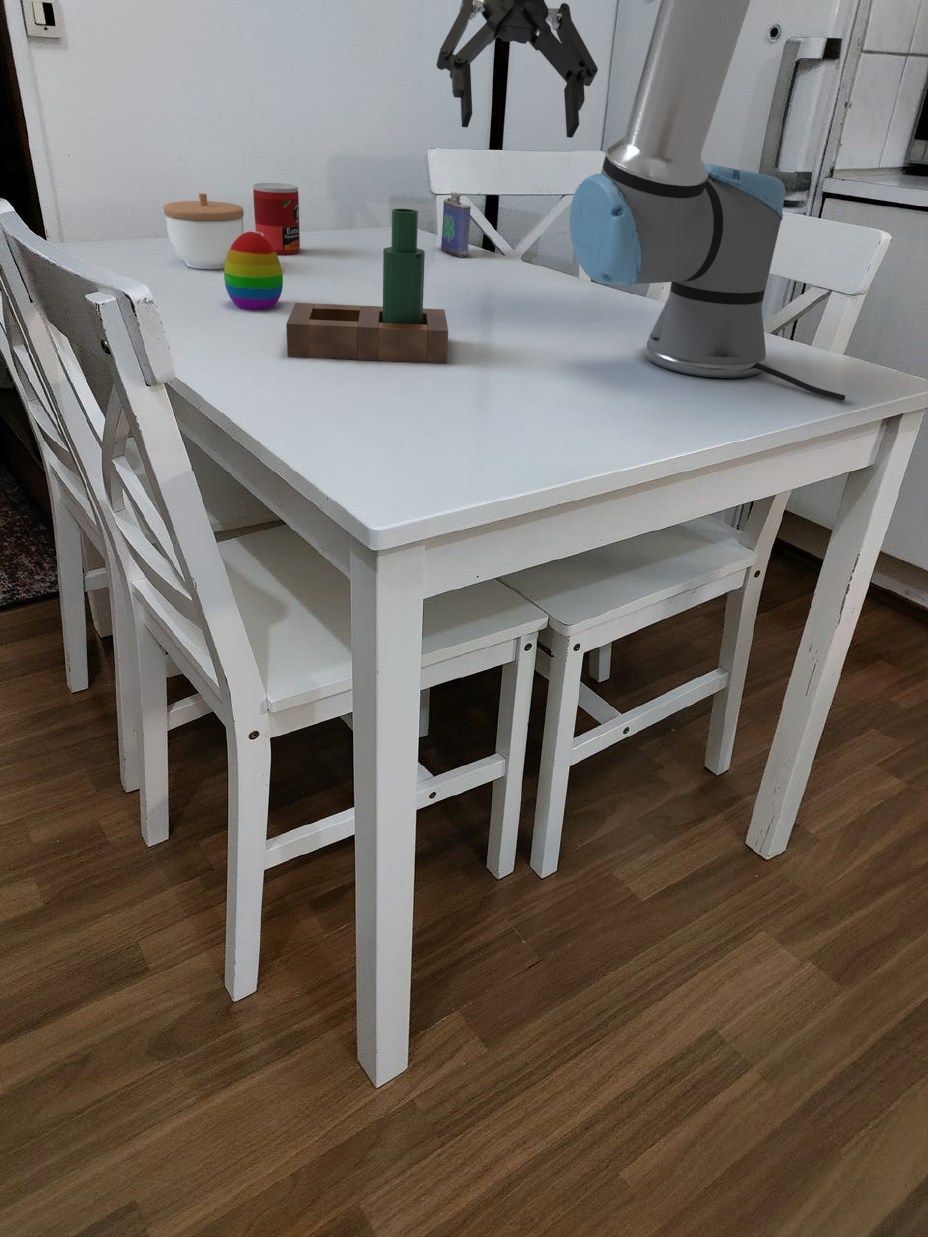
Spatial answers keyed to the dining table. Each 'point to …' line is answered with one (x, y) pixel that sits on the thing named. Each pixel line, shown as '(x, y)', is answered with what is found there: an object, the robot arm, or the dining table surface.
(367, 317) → the rack
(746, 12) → the robot arm
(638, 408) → the dining table surface
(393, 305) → the bottle
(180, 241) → the lidded bowl
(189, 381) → the dining table surface
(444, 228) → the flask
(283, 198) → the canned food
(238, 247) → the decorative egg
